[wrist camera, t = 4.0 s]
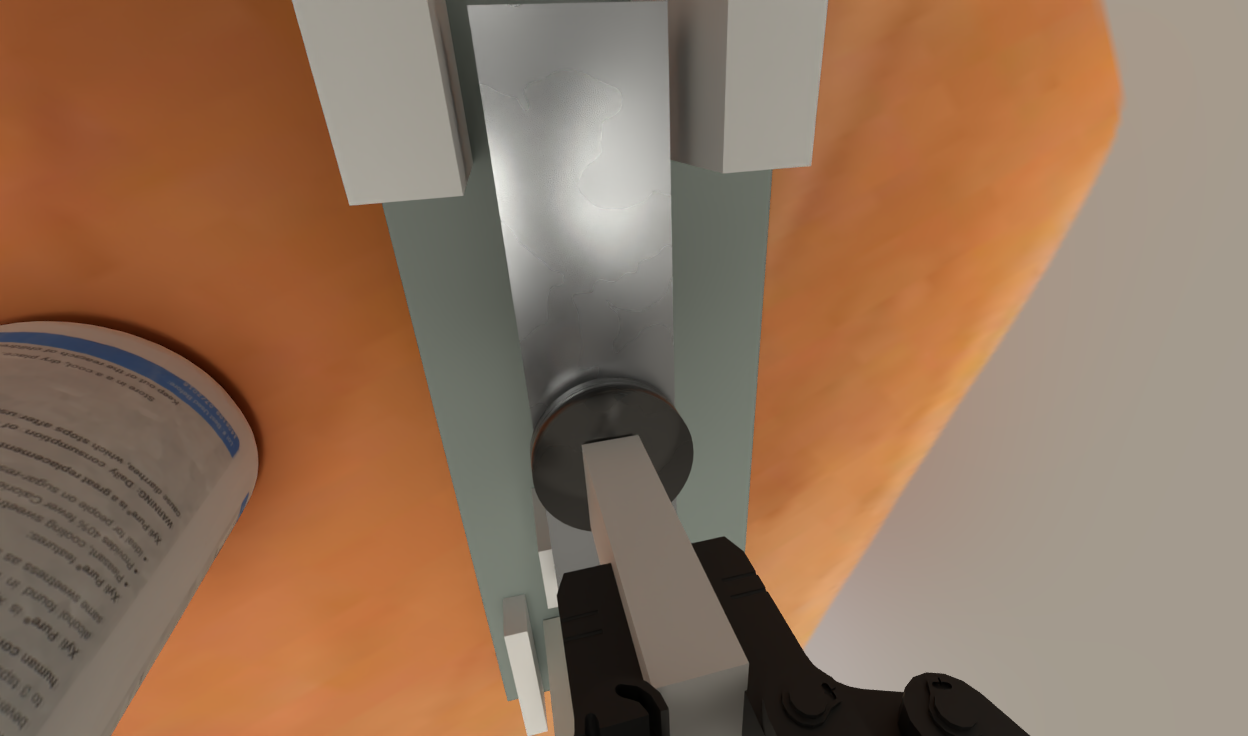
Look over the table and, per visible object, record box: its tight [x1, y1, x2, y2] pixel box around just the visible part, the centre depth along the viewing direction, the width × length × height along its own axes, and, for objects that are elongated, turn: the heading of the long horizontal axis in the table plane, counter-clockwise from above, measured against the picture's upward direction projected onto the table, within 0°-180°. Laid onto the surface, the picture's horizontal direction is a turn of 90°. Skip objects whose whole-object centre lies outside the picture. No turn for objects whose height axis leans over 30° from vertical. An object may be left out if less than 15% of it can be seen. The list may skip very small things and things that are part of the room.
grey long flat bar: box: [467, 1, 694, 589], centre depth 14 cm, size 18×4×2 cm, turn 3°
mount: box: [292, 0, 828, 736], centre depth 19 cm, size 31×13×8 cm, turn 3°
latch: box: [543, 617, 574, 736], centre depth 22 cm, size 9×6×8 cm, turn 3°
